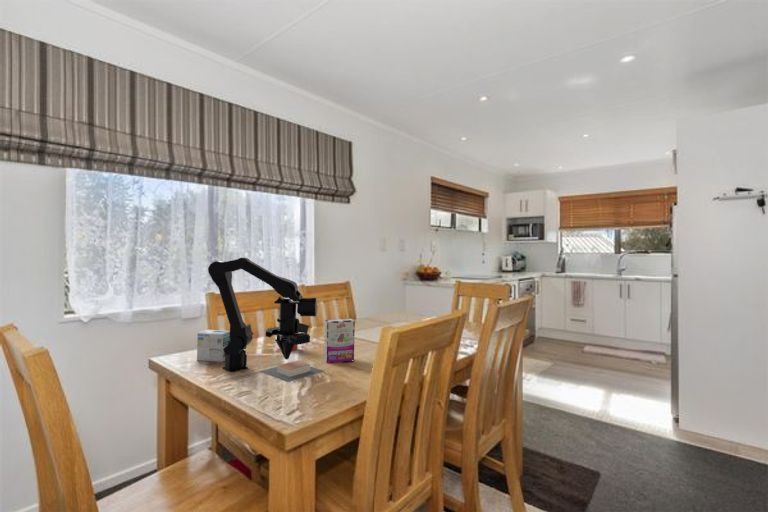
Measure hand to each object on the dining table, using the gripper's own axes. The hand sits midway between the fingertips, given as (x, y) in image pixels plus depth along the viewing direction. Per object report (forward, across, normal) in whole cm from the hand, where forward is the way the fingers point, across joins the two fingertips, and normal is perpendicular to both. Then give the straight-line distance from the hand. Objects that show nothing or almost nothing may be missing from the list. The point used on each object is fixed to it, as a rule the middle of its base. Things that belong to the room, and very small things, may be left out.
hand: (286, 359), depth 137 cm
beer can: (+4, +22, -18) cm, 28 cm away
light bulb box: (+4, +31, +11) cm, 33 cm away
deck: (+2, -1, 0) cm, 2 cm away
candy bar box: (+4, -6, -21) cm, 22 cm away
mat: (+4, -4, 0) cm, 5 cm away
